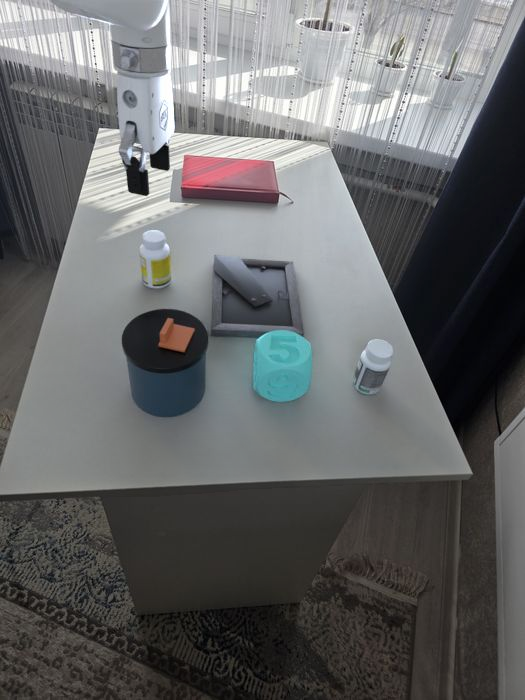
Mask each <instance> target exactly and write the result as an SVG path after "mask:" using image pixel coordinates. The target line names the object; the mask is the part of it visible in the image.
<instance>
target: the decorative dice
mask: <svg viewBox="0 0 525 700" xmlns="http://www.w3.org/2000/svg"><path fill="white" fill-rule="evenodd" d="M253 352H254V353H253V362H252V363H253V365H252V387H253V390H254V391H255V392H256V393H257V394H258V395H259V396H261V397H262V398H264V399H266V400H269V401H272V402H276V403H284V402H292V401H294V400H297V399H299V398H300V397H303V395H305V394H306V393H308V391H309V389H310V386H311V382H312V376H313V375H312V373H313V351H312V346H311V343H310V342H309V340H307V339H306V338H305V337H304V336H303V337H302V336H300V335H299V334H297V333H295V332H292V331H287V330H276V331H271V332H268V333H266V334H264V335H262V336H261V337H259V338H256V340H255V343H254V349H253Z"/></svg>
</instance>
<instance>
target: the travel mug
mask: <svg viewBox="0 0 525 700" xmlns="http://www.w3.org/2000/svg"><path fill="white" fill-rule="evenodd" d="M168 318H170V319H173V324H176V325H180V326H185V327H189V328H194V329H195V331H194V333H193V335H192V337H191V340H190V342H189V344H188V346H187V348H186V350H185V352H180V351H176V350H171V349H167V348H163V347H159V346H158V344H159V342H160V332H161V330H162V328H163V326H164V324H165V322H166V321H167V319H168ZM209 338H210V337H209V331H208V329H207V326H206V325H205V323H204V322H202V320H201V319H199V317H197V316H196V315H194V314H192V313H189V312H187V311H185V310H181V309H175V308H157V309H152V310H148V311H145V312H143V313H141V314H139V315H137V316H135V317H134V318H133V319H131V320H130V321H129V322H128V323H127V325H126V326H125V327H124V329H123V331H122V333H121V347H122V351H123V354H124V356H125V358H126V365H127V371H128V378H129V387H130V392H131V393H130V394H131V397H132V399H133V403H135V405H136V406H137V407H138V408H139V409H140V410H141V411H143V412H145V413H146V414H149V415H150V416H155V417H158V418H175V417H179V416H182V415H185V414H187V413H189V412H190V411H192V410H194V409H195V408H196V407H198V405H199V404H200V403H201V401H202V399H203V397H204V395H205V391H206V369H207V368H206V366H207V352H208V348H209V340H210V339H209Z"/></svg>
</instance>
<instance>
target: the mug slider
mask: <svg viewBox="0 0 525 700" xmlns="http://www.w3.org/2000/svg"><path fill="white" fill-rule="evenodd" d="M194 331H195V329H194V328H189V327H185V326H180V325H176V324H173V319H170V318H168V319H167V321H166V322H165V324H164V326H163V328H162V330H161V332H160V342H159V344H158V346H159V347H163V348H167V349H171V350H176V351H180V352H185V350H186V348H187V346H188V344H189V342H190V340H191V337H192V335H193V333H194Z"/></svg>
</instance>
